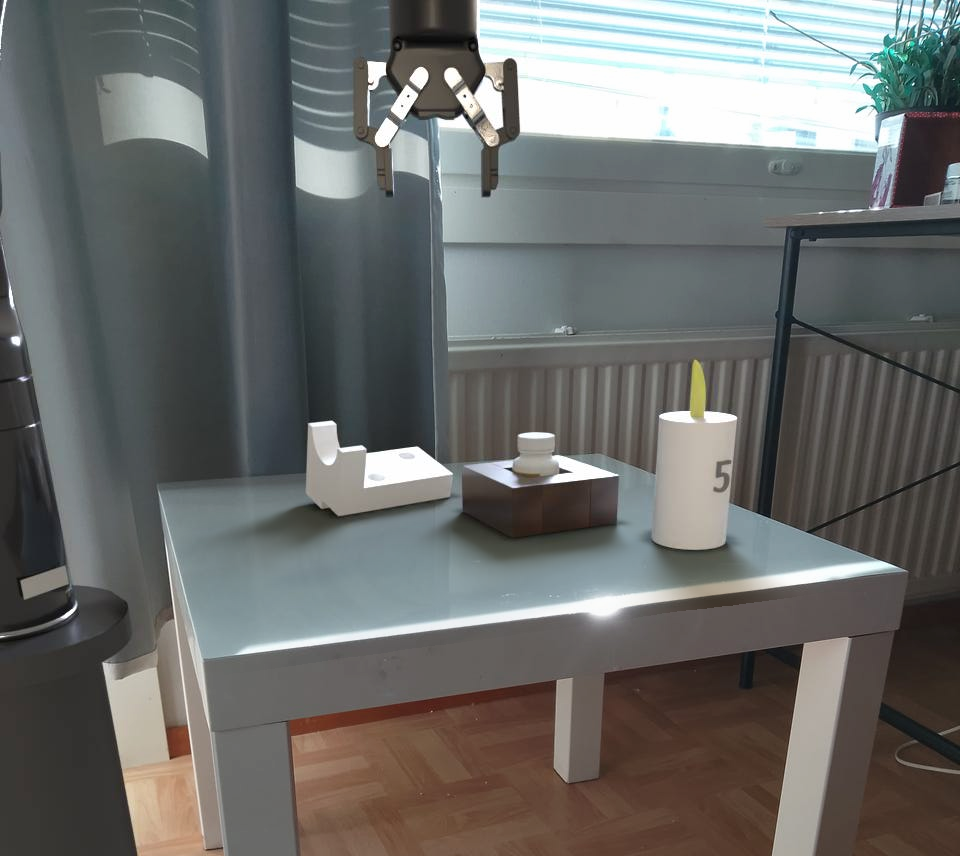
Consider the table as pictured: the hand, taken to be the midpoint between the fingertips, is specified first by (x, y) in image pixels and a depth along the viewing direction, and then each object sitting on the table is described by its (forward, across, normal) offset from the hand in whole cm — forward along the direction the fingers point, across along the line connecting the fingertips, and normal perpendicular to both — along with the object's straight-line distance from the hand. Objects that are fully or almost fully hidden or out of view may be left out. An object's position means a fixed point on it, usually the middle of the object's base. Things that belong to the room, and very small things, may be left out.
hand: (438, 196), depth 82 cm
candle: (+28, +21, -15) cm, 38 cm away
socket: (+28, +9, -5) cm, 30 cm away
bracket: (+28, -6, +3) cm, 29 cm away
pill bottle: (+28, +8, -5) cm, 30 cm away
